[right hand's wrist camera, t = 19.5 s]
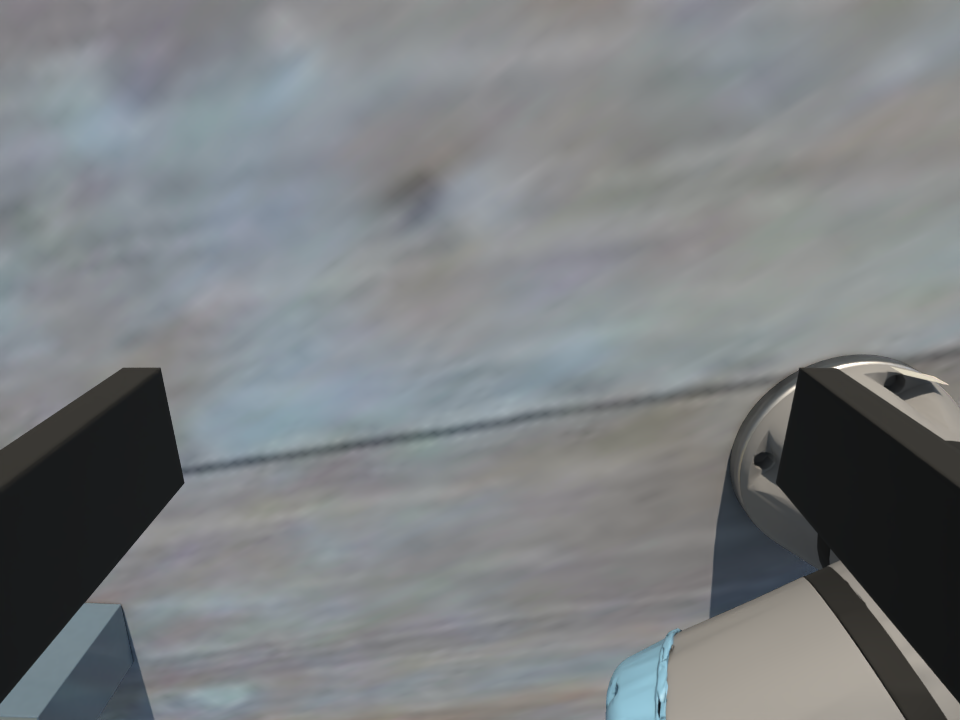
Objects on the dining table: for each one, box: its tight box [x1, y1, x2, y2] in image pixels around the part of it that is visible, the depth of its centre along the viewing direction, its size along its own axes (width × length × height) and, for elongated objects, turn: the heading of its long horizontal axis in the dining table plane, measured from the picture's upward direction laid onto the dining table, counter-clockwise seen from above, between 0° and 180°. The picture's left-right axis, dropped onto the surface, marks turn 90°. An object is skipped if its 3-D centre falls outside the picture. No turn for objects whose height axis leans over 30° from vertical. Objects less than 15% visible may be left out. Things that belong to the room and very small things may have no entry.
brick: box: [0, 603, 133, 720], centre depth 45 cm, size 6×5×10 cm
